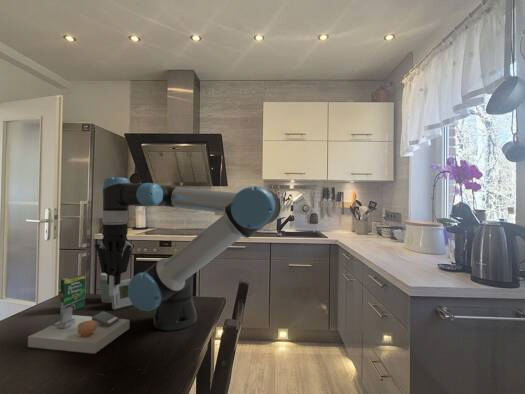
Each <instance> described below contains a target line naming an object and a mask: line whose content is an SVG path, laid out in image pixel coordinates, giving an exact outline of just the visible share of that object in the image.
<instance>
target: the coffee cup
mask: <svg viewBox="0 0 525 394" xmlns="http://www.w3.org/2000/svg"><path fill="white" fill-rule="evenodd" d="M98 280H99V289H100V297H101V298H100V299H101V303H103V304H109V303H111V304H112V300H111V296H109V285H108V284H107V274H106V273H102V272H101V273H100V275H99V276H98Z"/></svg>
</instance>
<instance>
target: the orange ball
mask: <svg viewBox="0 0 525 394" xmlns="http://www.w3.org/2000/svg"><path fill="white" fill-rule="evenodd" d="M96 328H97V321H94V320H90V321H85V322H82V323H80V324H79V325H78V333H79V334H83V337H89V336H91V332H93V331H95V330H96Z"/></svg>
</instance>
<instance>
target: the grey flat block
mask: <svg viewBox="0 0 525 394" xmlns="http://www.w3.org/2000/svg"><path fill="white" fill-rule="evenodd" d="M91 317H92V320H94V321H97V322H98V323H100V324H102V325H105V326H107V327H109V326H111V325H113V324H114V323H116V322H117V321H119V319H120V317H118V316H117V315H115V314H111V313H109V312H107V311H104V310H103V311H100V312H99V313H97V314H95V315H93V316H91Z"/></svg>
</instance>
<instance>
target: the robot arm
mask: <svg viewBox="0 0 525 394" xmlns="http://www.w3.org/2000/svg"><path fill="white" fill-rule="evenodd" d="M102 186H103V187H102V221H101V222H102V223H103V225H102V228H101V229H102V230H101V235H102V236H103V237H102V239H101V242H99V243H96V244H95V245H94V248H95V249H96V250H97V254H98V261H99V265H100V271H101V273H106V274H107V284H108V285H109V296H114V295H116V294H118V286H119V284H120V282H121V280H122V279H121V277H122V274H125V273H126V272H127V271H128V266H129V264H130V260H131V256H132V255H131V254H132V251H133V250H134V249H135V244H134V243H133V244H132V243H130V242H129V239H128V237H127V236H128V229H129V227H128V226H129V225H128V224H127V223H128V222H129V220H128V219H129V207H130V206H132V207H167V208H168V207H169V208H178V209H187V210H197V211H203V212H212V213H221V214H222V216H221V217H219V218H218V219H217V220H215V221H214V222H213V223H211V224H210V225H209V226H208V227H206V228H205V229H204V230H203V231H201V232H200V233H199V234H198V235H197V236H196V237H194V238H192V239H191V240H190V241H189V242H188V243H187V244H185V245H183V247H182V248H181V249H179V250H178V251H177V252H175V253H174V254H173V255H172V256H170V257H166V258H161V259H159V260H158V261H157V262H155V263H153V265H151V266H150V267H149V268H148V269H146V270H144V271H142V272H138V273H137V274H135V275H134V276H133V277H132V279H131V278H130V279H131V280H130V282H129V286H128V289H129V290H128V295H129V298H130V301H131V302H132V304H133V305H134V306H133V307H135V308H136V309H138V310H139V311H142V312H150V311H153V310H155V313H154V316H153V323H152V324H153V326H154V327H155V329H158V330H162V331H177V330H184V329H186V328H188V327H189V328H190V327H191V326H193V325H194V324H195V323H196V322H197V316H198V314H197V310H196V307H195V303H194V300H193V289H194V288H193V287H194V286H193V282H194V274H196V273H197V272H198V271H200V270H201V269H202V268H203V267H204V266H206V265H207V264H208V263H210V262H211V261H212V260H213V259H215V258H216V257H218V256H219V255H220V254H222V253H223V252H224V251H225V250H227V249H228V248H229V247H231V246H232V245H233V244H234V243H236V241H238V240H240V239H241V238H245V239H249V238H251V237H252V236H253V235H254V234H255V233H257V232H258V231H260V230H261V229H262V228H263V227H265V226H266V225H268V224H271V223H273V222H274V221H276V219H278V217H279V215H280V213H281V209H282V208H281V207H282V205H281V201H280V199H279V196H278V195H277V194H276V193H275V192H273V191H271V190H269V189H266V188H264V187H261V186H257V185H256V186H254V185H252V186H248V187H244V188H243V189H241V190H240V191H237V192H230V191H229V192H228V191H219V190H212V189H211V190H210V189H209V190H207V189H199V188H198V189H197V188H188V187H179V186H178V187H177V186H169V185H168V186H167V185H166V186H165V185H159V184H158V183H152V182H145V183H143V182H142V183H138V182H137V183H130V181H129V178H126V177H121V176H120V177H118V176H117V177H115V176H110V177H109V176H108V177H106V178H104V181H103V185H102Z"/></svg>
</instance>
